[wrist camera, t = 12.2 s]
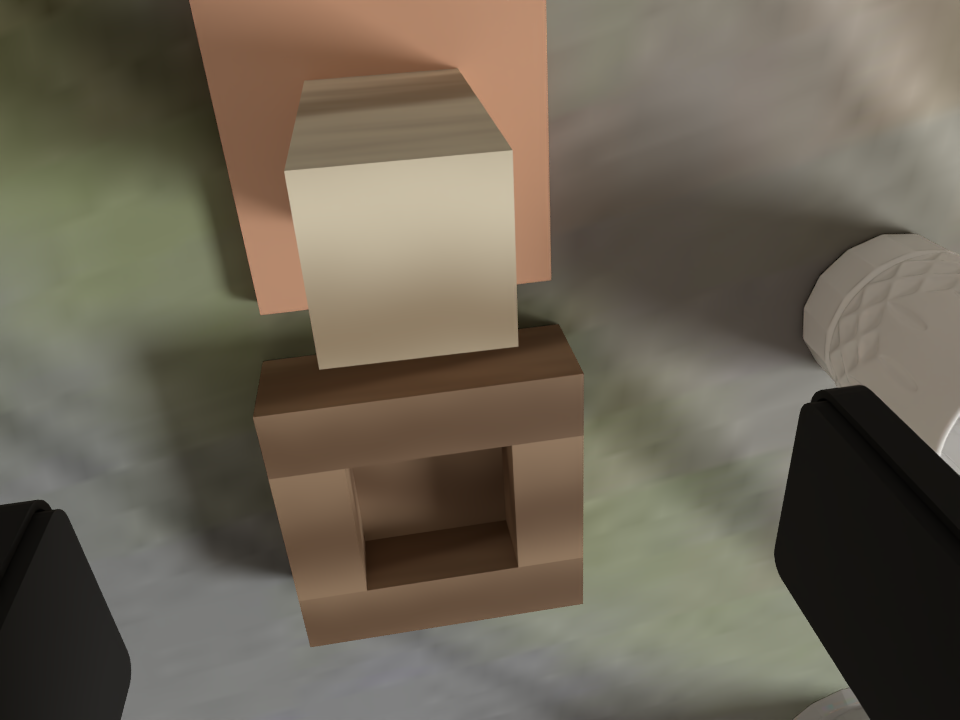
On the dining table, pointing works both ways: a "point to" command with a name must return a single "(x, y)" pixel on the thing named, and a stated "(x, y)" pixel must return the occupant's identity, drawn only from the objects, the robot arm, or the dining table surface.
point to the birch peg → (402, 218)
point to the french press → (835, 708)
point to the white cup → (895, 331)
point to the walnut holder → (428, 485)
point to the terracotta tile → (361, 52)
